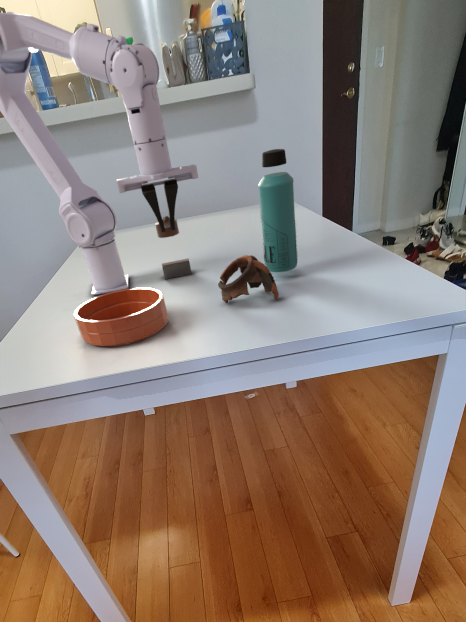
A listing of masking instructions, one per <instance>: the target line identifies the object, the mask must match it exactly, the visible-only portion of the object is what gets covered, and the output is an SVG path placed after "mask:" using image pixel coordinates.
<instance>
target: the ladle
mask: <svg viewBox="0 0 466 622" xmlns="http://www.w3.org/2000/svg"><path fill="white" fill-rule="evenodd" d="M162 220H163V224H164V228H165V232H162V231H161V228H160V225H159V222H158V221H156V222H155V223H154V226H155V230H156V234H157V238H158V239H164V238H165V239H166V238H172V237H175V236H177V235H179V234H180V230H179V225H178V224H179V223H178V220H177V218H175V230H172V229H171V225H170V218H169V215H164V216H162Z"/></svg>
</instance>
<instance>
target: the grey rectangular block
mask: <svg viewBox="0 0 466 622" xmlns="http://www.w3.org/2000/svg"><path fill="white" fill-rule="evenodd" d="M190 262H191V261H190V259H189V258H184V259H179V260H173V261H168V262H163V263H161V268H162V269H161V270H162V273H163V277H164V280H169V279H174V278H179V277H185V276H188V275H192V267H191V263H190Z"/></svg>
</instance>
